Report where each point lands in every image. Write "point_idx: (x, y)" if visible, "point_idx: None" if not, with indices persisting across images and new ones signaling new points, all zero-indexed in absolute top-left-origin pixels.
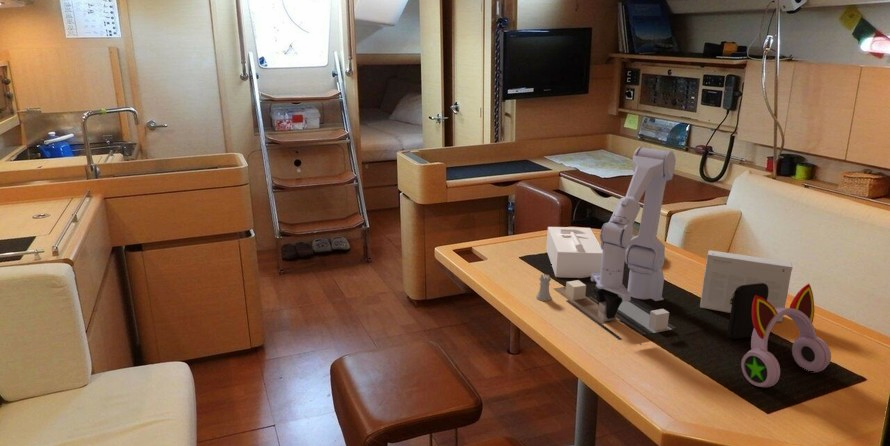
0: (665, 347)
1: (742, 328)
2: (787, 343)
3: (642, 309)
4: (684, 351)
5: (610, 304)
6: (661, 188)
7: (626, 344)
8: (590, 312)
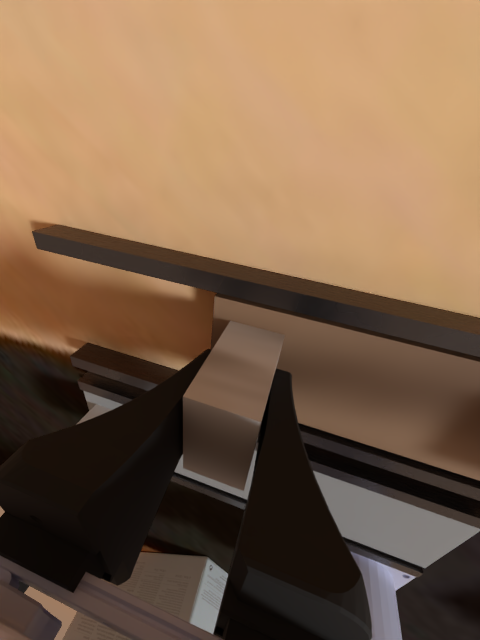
0: (32, 350)
1: None
2: None
3: (244, 501)
4: (11, 369)
5: (102, 417)
6: None
7: (55, 256)
8: (370, 360)
